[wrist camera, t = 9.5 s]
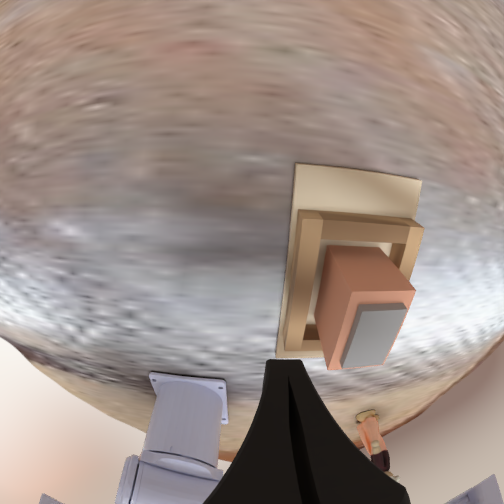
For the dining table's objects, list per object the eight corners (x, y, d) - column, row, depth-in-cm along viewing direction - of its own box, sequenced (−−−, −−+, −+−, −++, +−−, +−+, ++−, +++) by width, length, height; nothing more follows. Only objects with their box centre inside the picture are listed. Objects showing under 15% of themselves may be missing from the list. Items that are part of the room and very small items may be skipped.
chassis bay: (368, 349, 23) (375, 367, 21) (275, 353, 23) (276, 373, 21) (417, 179, 16) (436, 187, 14) (295, 162, 16) (301, 168, 14)
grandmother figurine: (344, 417, 29) (361, 500, 17) (370, 404, 28) (392, 488, 16) (366, 429, 31) (382, 498, 20) (388, 417, 30) (409, 487, 19)
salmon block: (360, 314, 20) (385, 371, 15) (313, 316, 20) (329, 377, 15) (379, 247, 18) (420, 296, 12) (326, 244, 18) (355, 298, 12)
